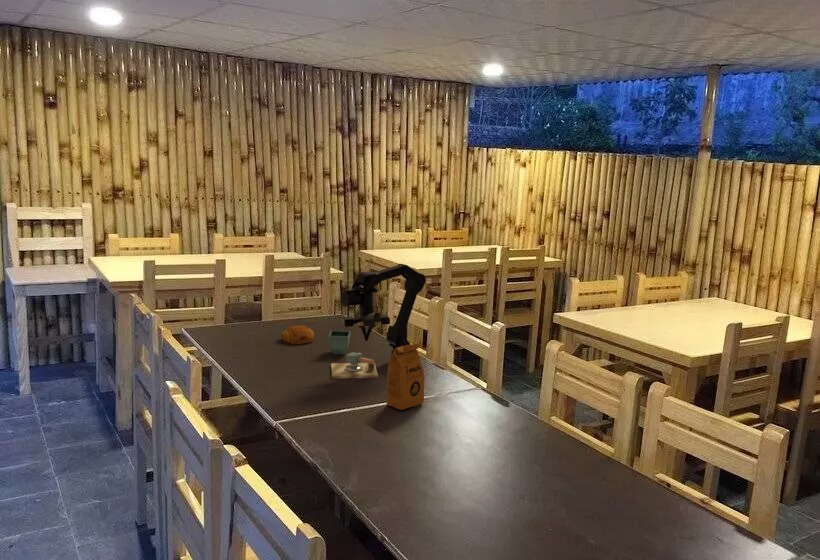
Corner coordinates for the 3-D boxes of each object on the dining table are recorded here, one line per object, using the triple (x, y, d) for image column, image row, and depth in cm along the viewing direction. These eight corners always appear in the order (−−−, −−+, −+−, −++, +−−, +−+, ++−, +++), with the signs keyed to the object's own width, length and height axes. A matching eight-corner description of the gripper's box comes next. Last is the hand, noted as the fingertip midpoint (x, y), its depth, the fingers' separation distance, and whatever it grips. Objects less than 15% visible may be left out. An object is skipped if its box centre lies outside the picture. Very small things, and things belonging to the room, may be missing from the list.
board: (374, 365, 275) (374, 362, 275) (378, 377, 260) (378, 375, 259) (331, 365, 273) (331, 363, 272) (332, 378, 257) (332, 376, 257)
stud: (362, 366, 270) (362, 359, 269) (363, 371, 263) (363, 364, 262) (345, 366, 269) (345, 359, 268) (345, 372, 262) (345, 364, 261)
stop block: (369, 369, 266) (369, 362, 266) (374, 369, 266) (374, 362, 265) (368, 370, 264) (368, 363, 264) (373, 371, 264) (373, 364, 263)
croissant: (279, 342, 312) (277, 326, 311) (311, 335, 318) (309, 319, 316) (286, 350, 299) (284, 333, 298) (319, 342, 305) (317, 326, 303)
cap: (345, 362, 264) (345, 354, 264) (352, 359, 269) (352, 351, 268) (369, 367, 259) (369, 359, 258) (376, 364, 263) (376, 356, 262)
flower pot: (348, 356, 286) (348, 336, 285) (328, 355, 286) (328, 335, 285) (350, 350, 295) (350, 331, 293) (331, 349, 295) (331, 330, 293)
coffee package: (428, 405, 232) (430, 345, 228) (400, 413, 224) (402, 351, 220) (409, 397, 239) (411, 339, 235) (382, 405, 231) (384, 344, 227)
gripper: (346, 309, 255) (346, 348, 258) (393, 307, 260) (393, 345, 263) (341, 303, 266) (342, 340, 269) (386, 300, 271) (386, 337, 274)
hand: (366, 341), depth 268 cm, fingers closed
